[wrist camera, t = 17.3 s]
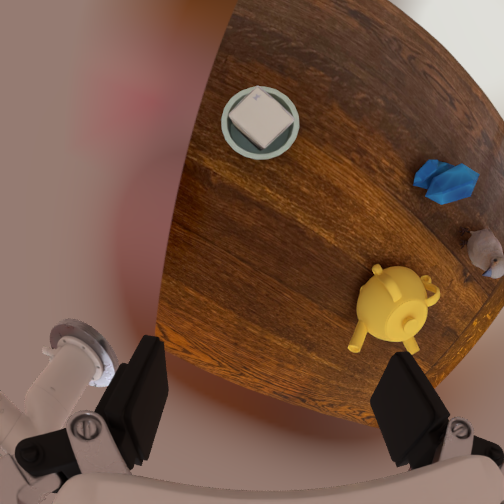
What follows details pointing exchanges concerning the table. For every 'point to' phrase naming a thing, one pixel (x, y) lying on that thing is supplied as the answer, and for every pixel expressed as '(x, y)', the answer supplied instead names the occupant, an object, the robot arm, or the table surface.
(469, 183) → the crystal
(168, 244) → the table surface
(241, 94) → the jar
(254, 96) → the box
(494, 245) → the bird
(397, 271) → the teapot
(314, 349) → the table surface
